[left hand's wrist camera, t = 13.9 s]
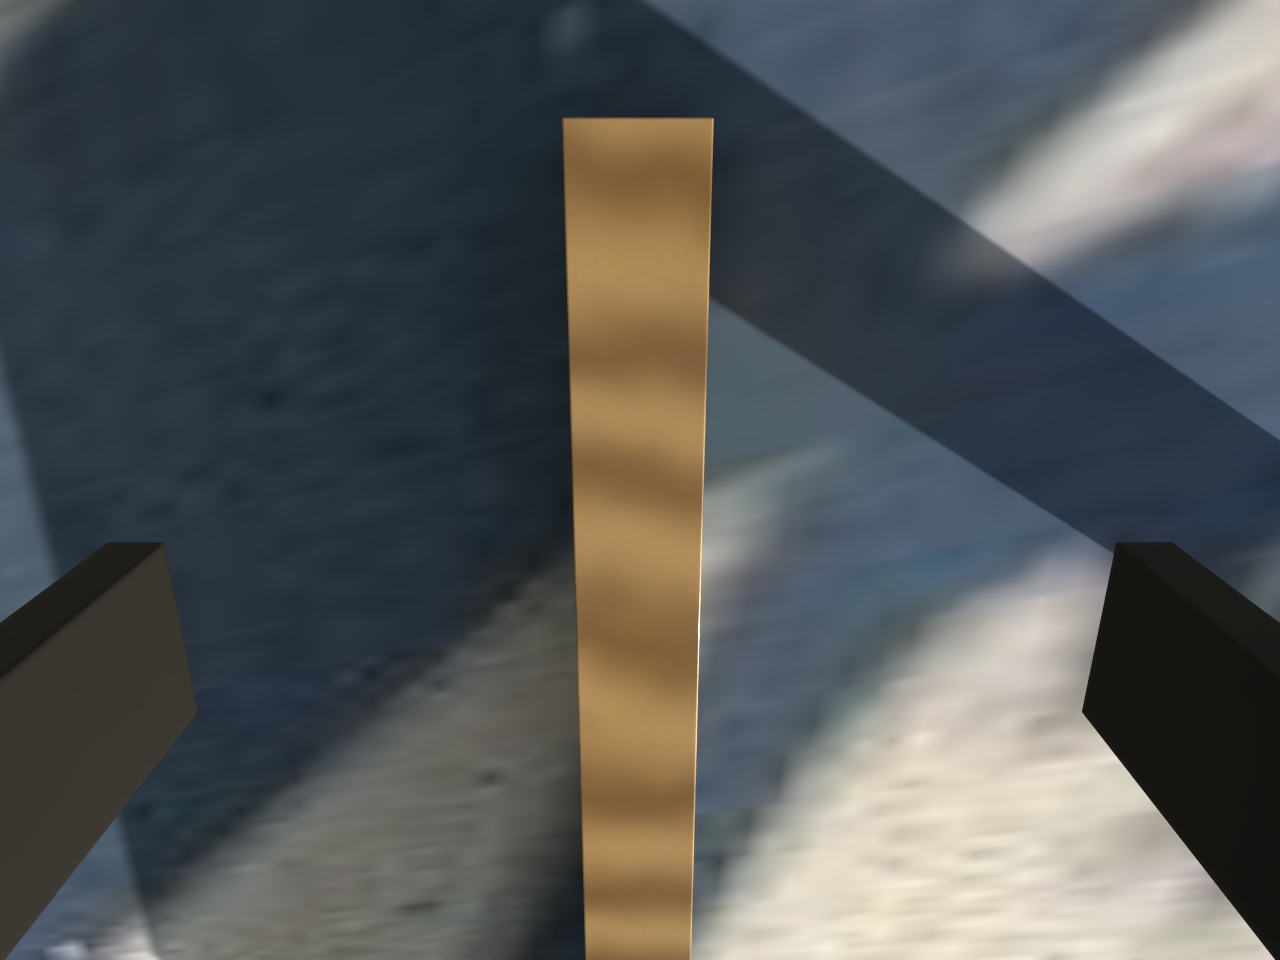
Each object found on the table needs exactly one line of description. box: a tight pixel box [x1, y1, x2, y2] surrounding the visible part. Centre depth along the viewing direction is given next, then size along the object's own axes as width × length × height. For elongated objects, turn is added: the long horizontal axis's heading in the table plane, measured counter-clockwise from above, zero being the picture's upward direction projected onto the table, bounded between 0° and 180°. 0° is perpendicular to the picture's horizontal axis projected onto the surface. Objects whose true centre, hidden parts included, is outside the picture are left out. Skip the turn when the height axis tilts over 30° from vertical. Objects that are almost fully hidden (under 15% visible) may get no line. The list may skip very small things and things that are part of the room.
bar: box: [562, 117, 714, 960], centre depth 44 cm, size 63×5×8 cm, turn 0°
